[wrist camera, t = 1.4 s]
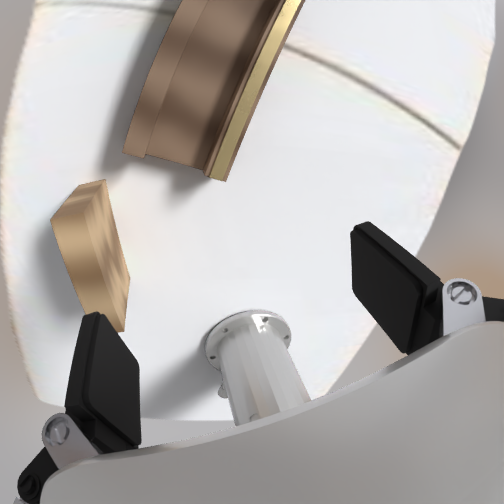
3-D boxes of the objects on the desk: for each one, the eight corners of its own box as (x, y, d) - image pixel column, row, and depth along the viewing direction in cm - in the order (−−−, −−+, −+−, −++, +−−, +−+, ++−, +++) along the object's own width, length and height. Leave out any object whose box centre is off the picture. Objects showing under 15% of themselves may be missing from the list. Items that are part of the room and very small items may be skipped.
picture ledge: (220, 171, 30) (228, 183, 27) (126, 144, 26) (119, 152, 23) (294, 3, 23) (311, -7, 19) (203, -33, 19) (208, -50, 15)
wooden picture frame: (130, 278, 34) (124, 331, 26) (105, 282, 33) (93, 335, 25) (105, 179, 27) (83, 212, 20) (77, 185, 27) (48, 220, 19)
